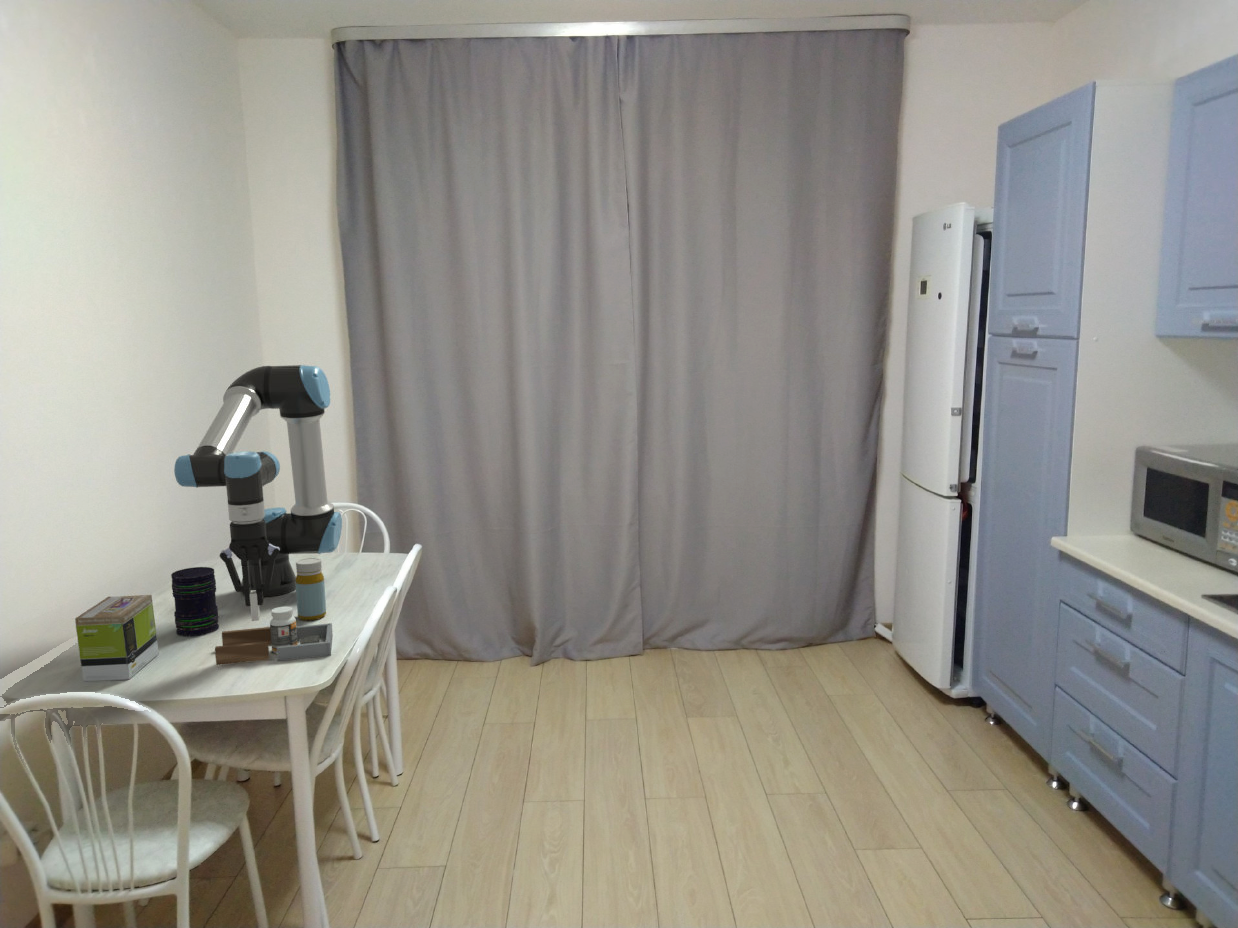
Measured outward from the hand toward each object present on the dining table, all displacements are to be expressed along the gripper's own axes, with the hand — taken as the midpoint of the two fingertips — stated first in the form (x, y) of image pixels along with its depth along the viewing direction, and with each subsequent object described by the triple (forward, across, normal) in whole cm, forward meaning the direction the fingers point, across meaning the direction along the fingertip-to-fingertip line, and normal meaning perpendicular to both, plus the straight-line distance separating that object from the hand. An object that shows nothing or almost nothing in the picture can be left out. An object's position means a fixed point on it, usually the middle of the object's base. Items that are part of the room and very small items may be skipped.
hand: (255, 618), depth 203 cm
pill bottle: (+8, +6, -1) cm, 10 cm away
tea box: (+8, -28, -2) cm, 29 cm away
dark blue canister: (+9, -16, +20) cm, 27 cm away
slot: (+8, -3, -1) cm, 8 cm away
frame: (+8, +10, -1) cm, 13 cm away
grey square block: (+8, +12, -2) cm, 14 cm away
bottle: (+9, +11, +22) cm, 26 cm away
